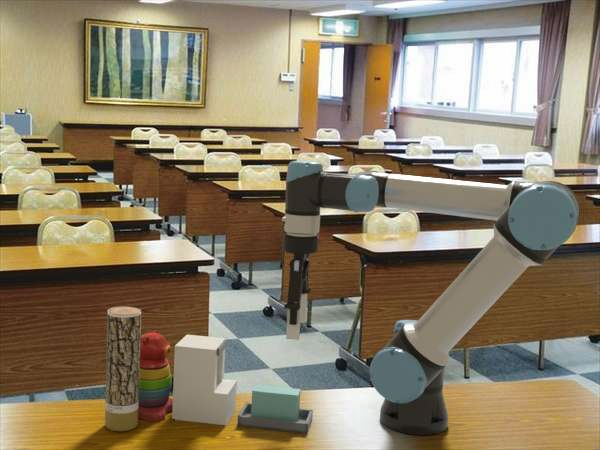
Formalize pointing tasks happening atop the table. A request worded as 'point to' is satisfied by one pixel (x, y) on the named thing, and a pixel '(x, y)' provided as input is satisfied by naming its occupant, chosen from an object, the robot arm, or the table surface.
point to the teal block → (275, 403)
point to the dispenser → (202, 381)
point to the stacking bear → (154, 378)
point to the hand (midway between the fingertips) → (296, 330)
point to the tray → (276, 421)
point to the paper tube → (122, 368)
